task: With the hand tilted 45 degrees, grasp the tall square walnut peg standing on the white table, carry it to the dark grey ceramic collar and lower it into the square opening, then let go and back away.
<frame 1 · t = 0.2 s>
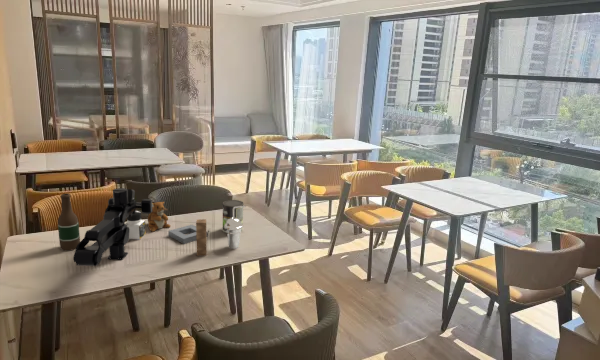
hand: (137, 200, 197), 17 cm above the table, tool horizontal, fingers open, 9 cm apart
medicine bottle: (135, 236, 198), on the table
peg: (201, 253, 183), on the table
socket: (188, 236, 201), on the table
cup with straw: (234, 247, 192), on the table
stuffed squirrel: (157, 226, 212), on the table
beer bottle: (70, 247, 184), on the table
coffee can: (232, 230, 212), on the table
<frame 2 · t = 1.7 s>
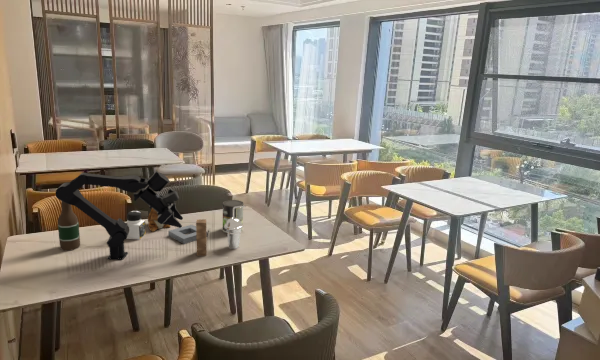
hand: (181, 222, 179), 14 cm above the table, tool tilted 45°, fingers open, 9 cm apart
nothing on the table moved.
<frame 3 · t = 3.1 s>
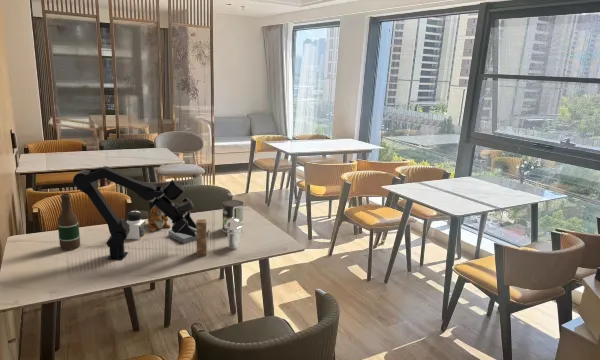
hand: (195, 231, 180), 10 cm above the table, tool tilted 45°, fingers open, 9 cm apart
nothing on the table moved.
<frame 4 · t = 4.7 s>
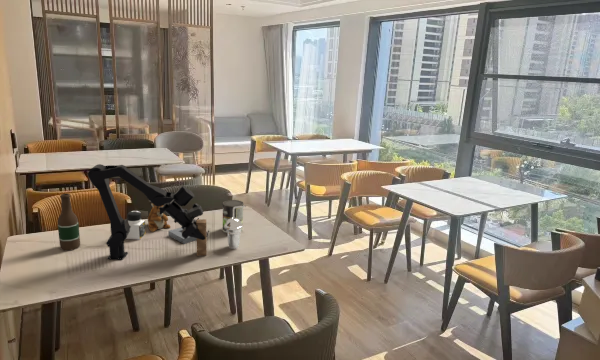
hand: (204, 237, 182), 8 cm above the table, tool tilted 45°, fingers closed on peg, 4 cm apart
peg: (201, 253, 183), on the table, touching gripper
everything else where it was.
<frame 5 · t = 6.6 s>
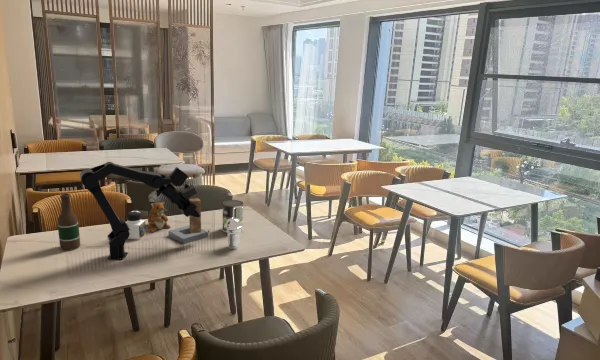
hand: (198, 215, 191), 13 cm above the table, tool tilted 45°, fingers closed on peg, 4 cm apart
peg: (195, 231, 192), point 6 cm above the table, touching gripper
everything else where it was.
when the fingers open (9 cm above the table, at t = 8.6 s): peg drops 1 cm, resting in socket.
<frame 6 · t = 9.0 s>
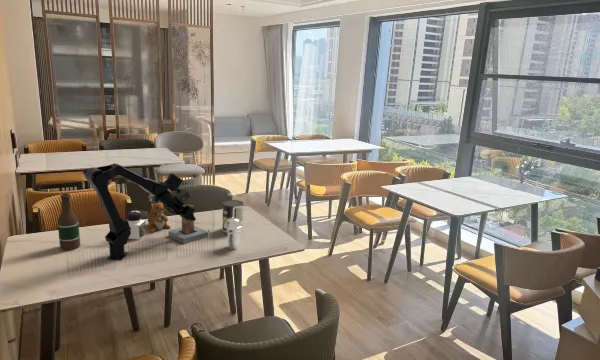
hand: (190, 217, 200), 9 cm above the table, tool tilted 45°, fingers open, 8 cm apart
peg: (188, 236, 201), resting in socket
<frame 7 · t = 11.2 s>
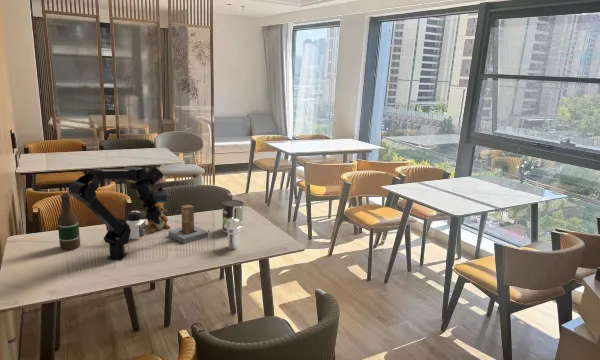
hand: (157, 218, 193), 10 cm above the table, tool tilted 25°, fingers open, 9 cm apart
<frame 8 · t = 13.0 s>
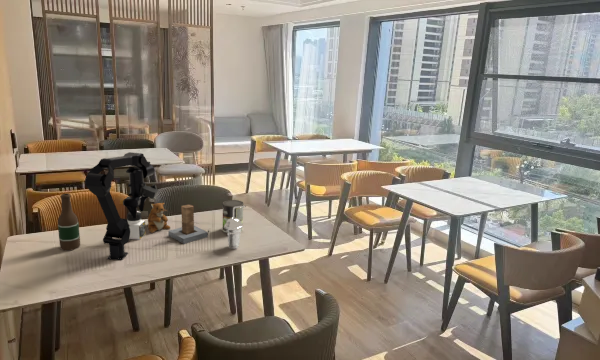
hand: (138, 214, 189), 13 cm above the table, tool pointing down, fingers open, 9 cm apart
at the end: peg 0.1 cm off-centre on the socket, point 0.0 cm above the socket's base; peg tilted 0°; the gripper is holding nothing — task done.
